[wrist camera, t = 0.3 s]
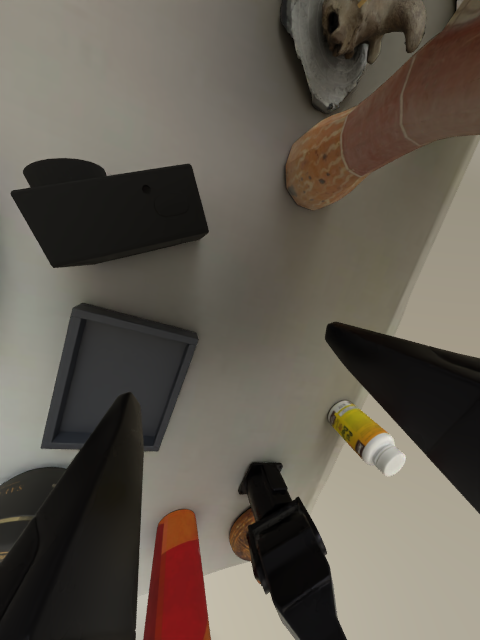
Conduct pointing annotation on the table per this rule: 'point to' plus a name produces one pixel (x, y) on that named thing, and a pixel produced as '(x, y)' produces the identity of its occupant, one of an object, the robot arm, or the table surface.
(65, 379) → the tray
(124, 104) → the table surface
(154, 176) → the digital camera
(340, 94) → the skull
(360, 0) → the grey long box
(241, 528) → the bell
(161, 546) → the coffee cup
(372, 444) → the supplement bottle
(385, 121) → the vase
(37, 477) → the jar
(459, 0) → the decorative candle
